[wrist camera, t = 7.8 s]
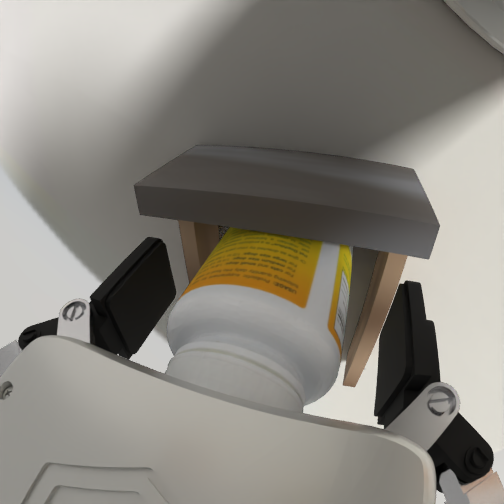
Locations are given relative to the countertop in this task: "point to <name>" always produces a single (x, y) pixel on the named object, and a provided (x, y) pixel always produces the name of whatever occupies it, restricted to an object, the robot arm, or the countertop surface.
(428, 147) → the countertop surface
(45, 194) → the countertop surface
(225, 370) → the supplement bottle
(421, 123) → the countertop surface
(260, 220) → the guide track
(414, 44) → the countertop surface
